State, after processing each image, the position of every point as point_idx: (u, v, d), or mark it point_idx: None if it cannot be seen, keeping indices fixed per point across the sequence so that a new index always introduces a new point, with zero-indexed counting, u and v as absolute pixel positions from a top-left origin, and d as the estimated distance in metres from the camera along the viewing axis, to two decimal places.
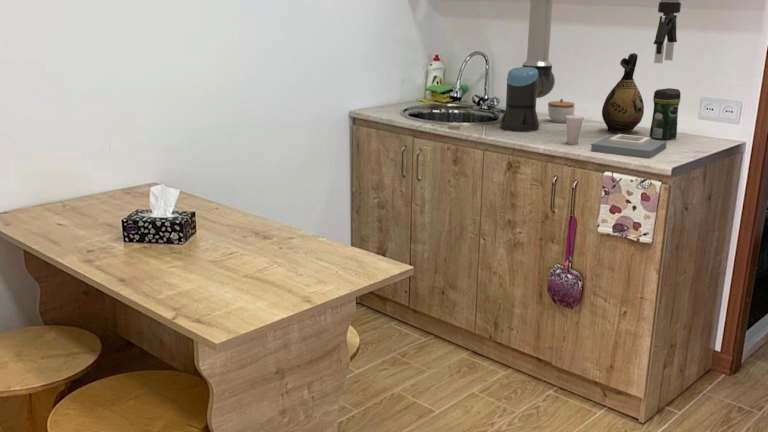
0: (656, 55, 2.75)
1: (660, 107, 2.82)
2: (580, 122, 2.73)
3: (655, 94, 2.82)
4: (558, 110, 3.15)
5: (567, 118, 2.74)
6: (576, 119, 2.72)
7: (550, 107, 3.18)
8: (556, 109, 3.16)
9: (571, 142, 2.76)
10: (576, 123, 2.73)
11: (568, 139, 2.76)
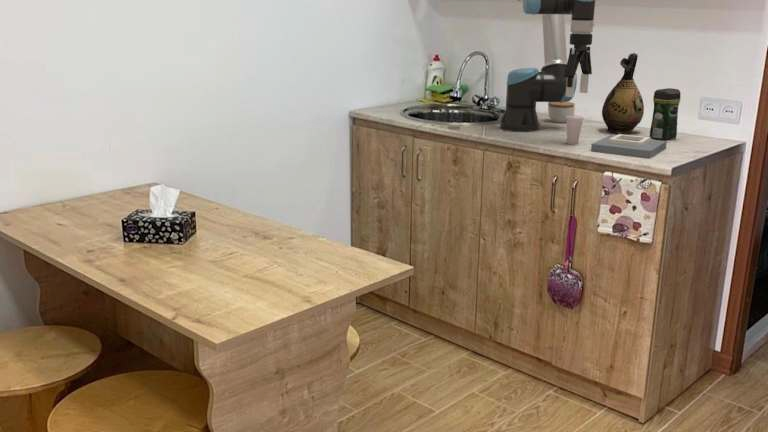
0: (567, 88, 2.66)
1: (660, 107, 2.82)
2: (580, 122, 2.73)
3: (655, 94, 2.82)
4: (558, 110, 3.15)
5: (567, 118, 2.74)
6: (576, 119, 2.72)
7: (550, 107, 3.18)
8: (556, 109, 3.16)
9: (571, 142, 2.76)
10: (576, 123, 2.73)
11: (568, 139, 2.76)
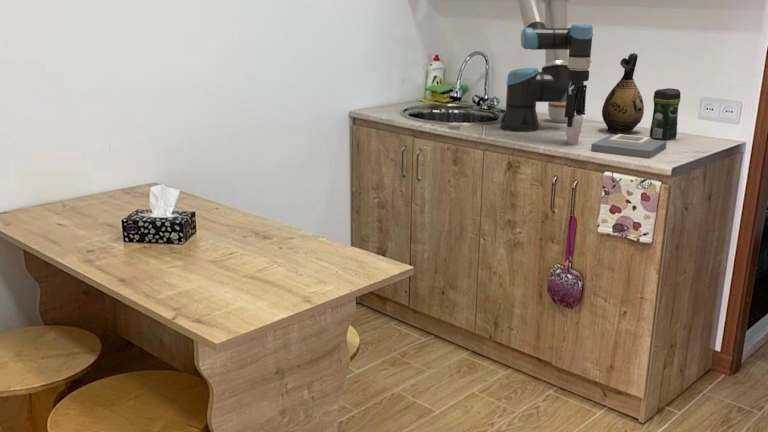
0: (567, 128, 2.73)
1: (660, 107, 2.82)
2: (580, 122, 2.73)
3: (655, 94, 2.82)
4: (558, 110, 3.15)
5: None
6: (576, 119, 2.72)
7: (550, 107, 3.18)
8: (556, 109, 3.16)
9: (571, 142, 2.76)
10: (576, 123, 2.73)
11: (568, 139, 2.76)
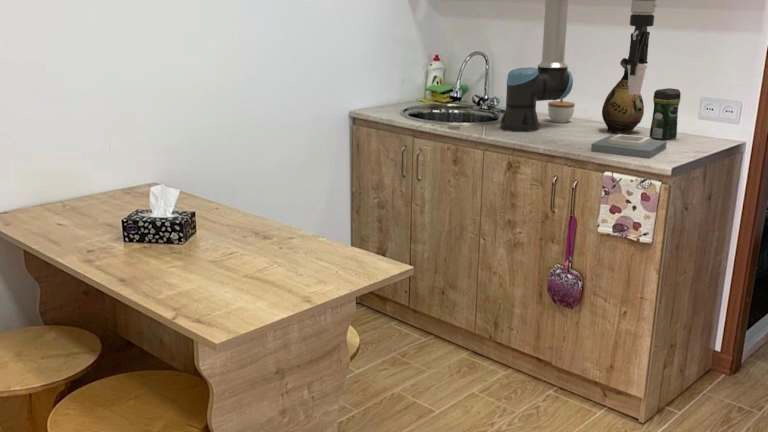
0: (630, 76, 2.58)
1: (660, 107, 2.82)
2: (643, 70, 2.58)
3: (655, 94, 2.82)
4: (559, 110, 3.15)
5: (629, 66, 2.58)
6: (639, 67, 2.57)
7: (550, 107, 3.18)
8: (556, 109, 3.16)
9: (633, 92, 2.60)
10: (639, 71, 2.57)
11: (630, 89, 2.61)
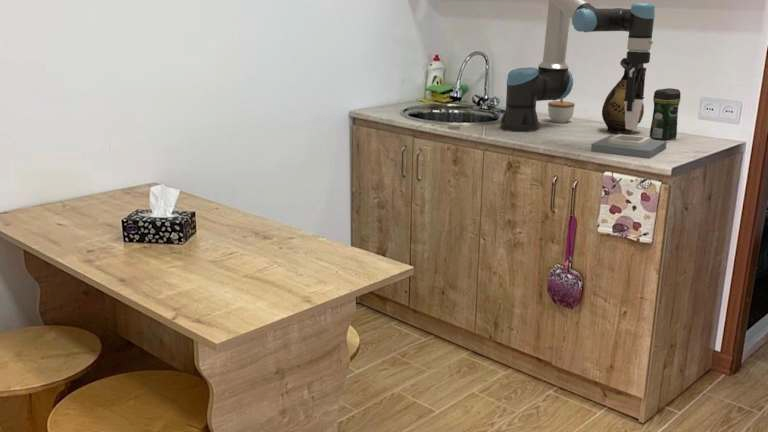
0: (626, 112, 2.61)
1: (660, 107, 2.82)
2: (640, 106, 2.61)
3: (655, 94, 2.82)
4: (558, 110, 3.15)
5: None
6: (636, 103, 2.60)
7: (550, 107, 3.18)
8: (556, 109, 3.16)
9: (630, 127, 2.64)
10: (636, 107, 2.61)
11: (627, 124, 2.64)
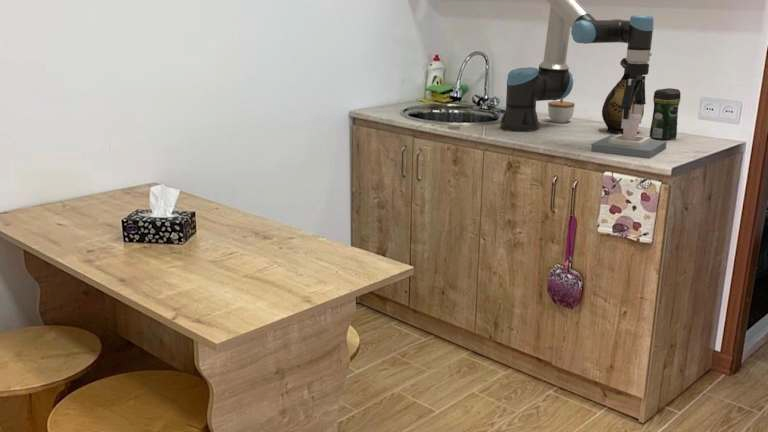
0: (623, 120, 2.60)
1: (660, 107, 2.82)
2: (638, 120, 2.63)
3: (655, 94, 2.82)
4: (559, 110, 3.15)
5: None
6: (634, 117, 2.61)
7: (550, 107, 3.18)
8: (556, 109, 3.16)
9: None
10: (634, 121, 2.62)
11: (625, 138, 2.66)
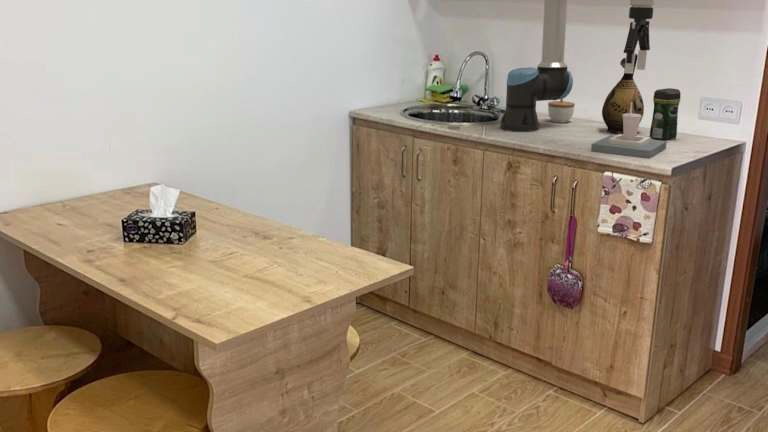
0: (626, 64, 2.55)
1: (660, 107, 2.82)
2: (638, 120, 2.63)
3: (655, 94, 2.82)
4: (559, 110, 3.15)
5: (624, 116, 2.63)
6: (634, 117, 2.61)
7: (550, 107, 3.18)
8: (556, 109, 3.16)
9: None
10: (634, 121, 2.62)
11: (625, 138, 2.66)
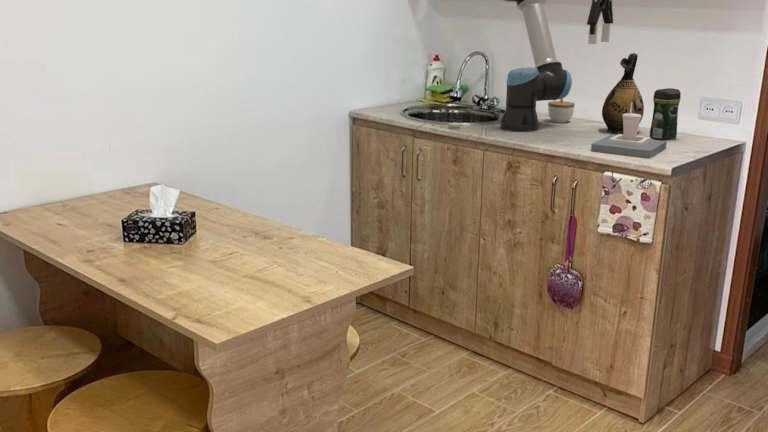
0: (590, 36, 2.71)
1: (660, 107, 2.82)
2: (638, 120, 2.63)
3: (655, 94, 2.82)
4: (558, 110, 3.15)
5: (624, 116, 2.63)
6: (634, 117, 2.61)
7: (550, 107, 3.18)
8: (556, 109, 3.16)
9: None
10: (634, 121, 2.62)
11: (625, 138, 2.66)
